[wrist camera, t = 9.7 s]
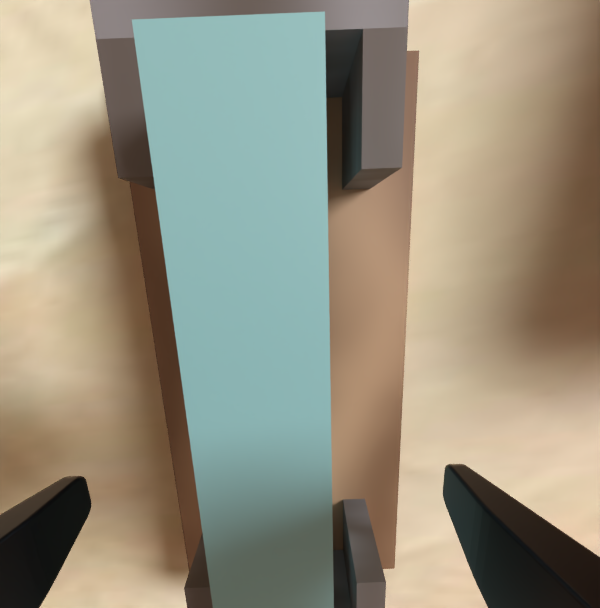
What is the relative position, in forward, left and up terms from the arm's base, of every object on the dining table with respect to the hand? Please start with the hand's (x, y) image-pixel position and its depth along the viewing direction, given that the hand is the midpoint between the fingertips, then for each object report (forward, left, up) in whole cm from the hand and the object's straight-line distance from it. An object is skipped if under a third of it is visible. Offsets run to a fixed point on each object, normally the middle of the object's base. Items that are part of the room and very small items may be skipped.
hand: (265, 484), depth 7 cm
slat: (0, 0, -7) cm, 7 cm away
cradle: (0, 0, -8) cm, 8 cm away
